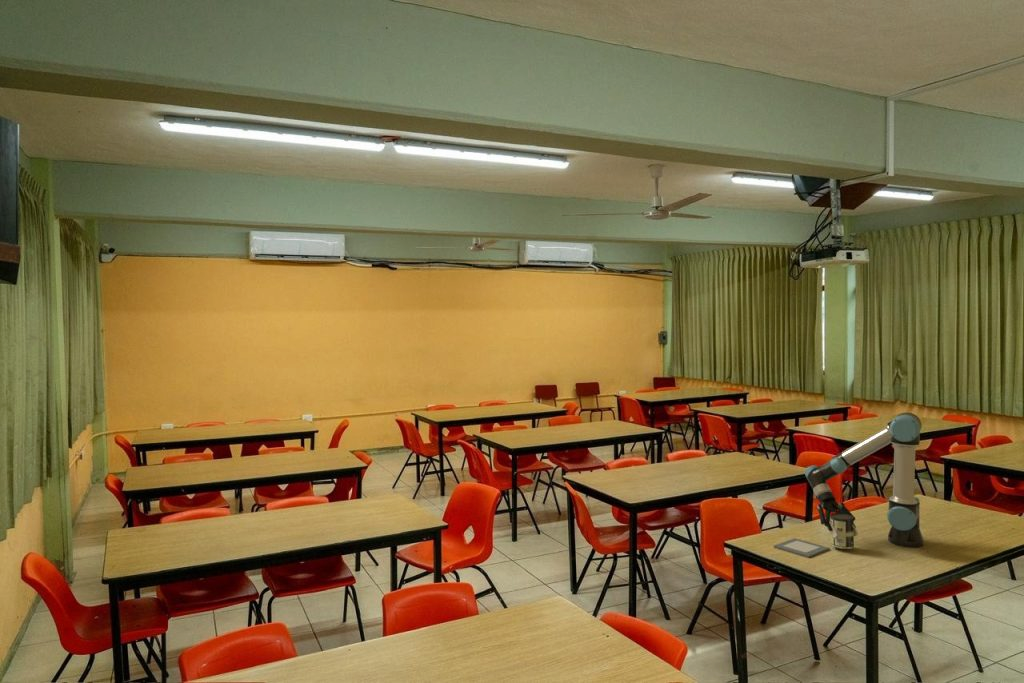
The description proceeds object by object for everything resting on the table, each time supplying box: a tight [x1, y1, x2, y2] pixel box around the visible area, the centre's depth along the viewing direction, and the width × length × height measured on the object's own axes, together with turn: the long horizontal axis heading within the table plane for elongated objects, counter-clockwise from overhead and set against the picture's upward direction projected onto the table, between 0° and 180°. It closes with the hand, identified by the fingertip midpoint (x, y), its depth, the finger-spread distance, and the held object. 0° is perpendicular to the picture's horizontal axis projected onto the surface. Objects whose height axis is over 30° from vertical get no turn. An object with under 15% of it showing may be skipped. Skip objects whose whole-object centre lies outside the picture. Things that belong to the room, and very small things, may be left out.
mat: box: [773, 537, 831, 559], centre depth 319 cm, size 18×18×1 cm
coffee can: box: [830, 513, 855, 550], centre depth 318 cm, size 10×10×14 cm
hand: (846, 535), depth 315 cm, fingers closed on coffee can, 10 cm apart
